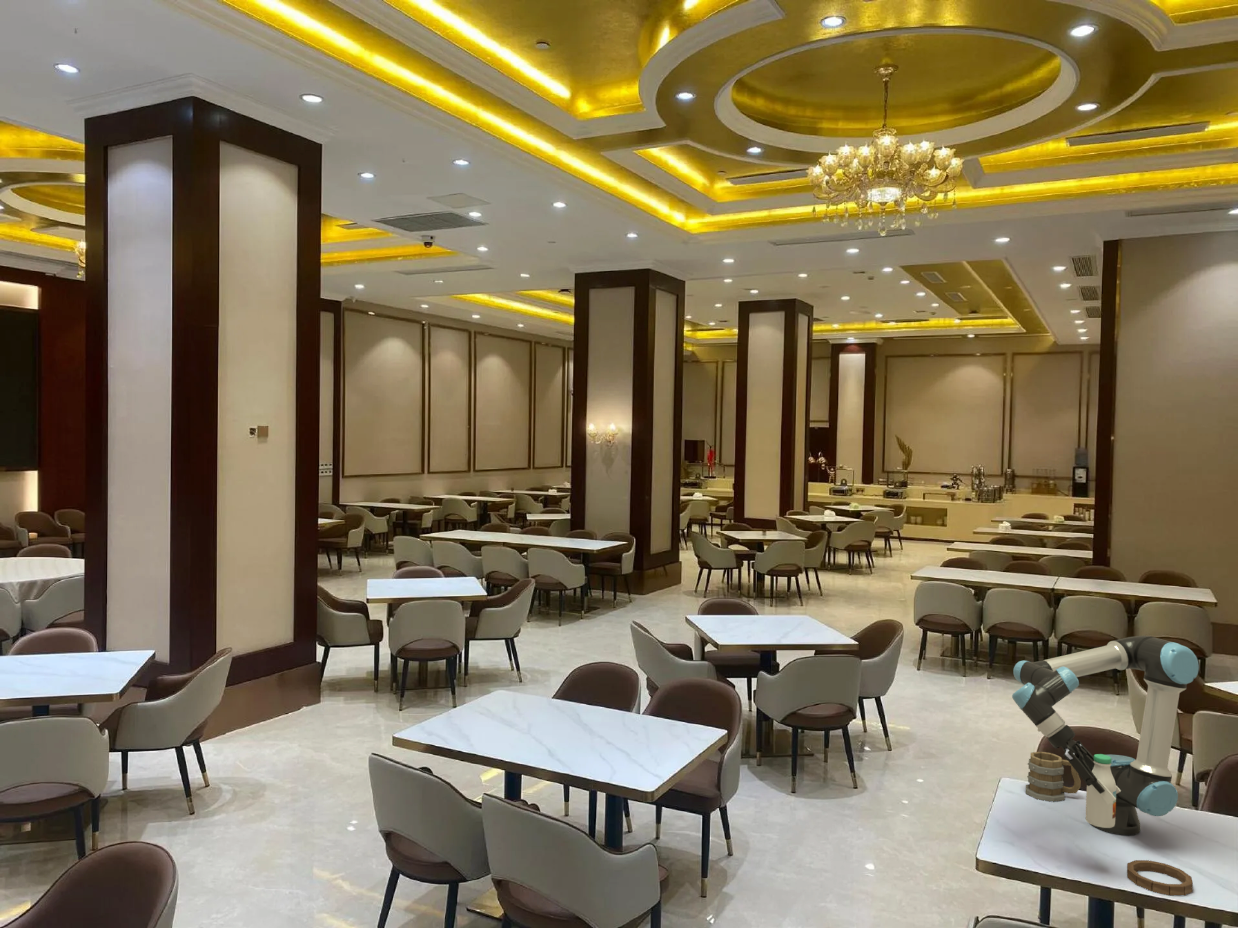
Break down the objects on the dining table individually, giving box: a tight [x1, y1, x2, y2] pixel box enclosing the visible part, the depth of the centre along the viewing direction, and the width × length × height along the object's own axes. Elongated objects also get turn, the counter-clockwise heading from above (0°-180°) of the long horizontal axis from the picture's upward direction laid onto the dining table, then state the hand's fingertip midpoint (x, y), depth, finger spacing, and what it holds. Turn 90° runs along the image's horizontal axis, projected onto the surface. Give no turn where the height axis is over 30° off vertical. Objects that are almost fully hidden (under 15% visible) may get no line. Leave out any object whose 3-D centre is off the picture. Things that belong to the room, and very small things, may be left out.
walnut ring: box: [1126, 859, 1194, 896], centre depth 258 cm, size 16×16×2 cm
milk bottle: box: [1085, 753, 1116, 828], centre depth 264 cm, size 8×8×20 cm
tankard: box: [1025, 751, 1082, 803], centre depth 321 cm, size 20×13×15 cm, turn 66°
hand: (1114, 797), depth 262 cm, fingers closed on milk bottle, 7 cm apart
